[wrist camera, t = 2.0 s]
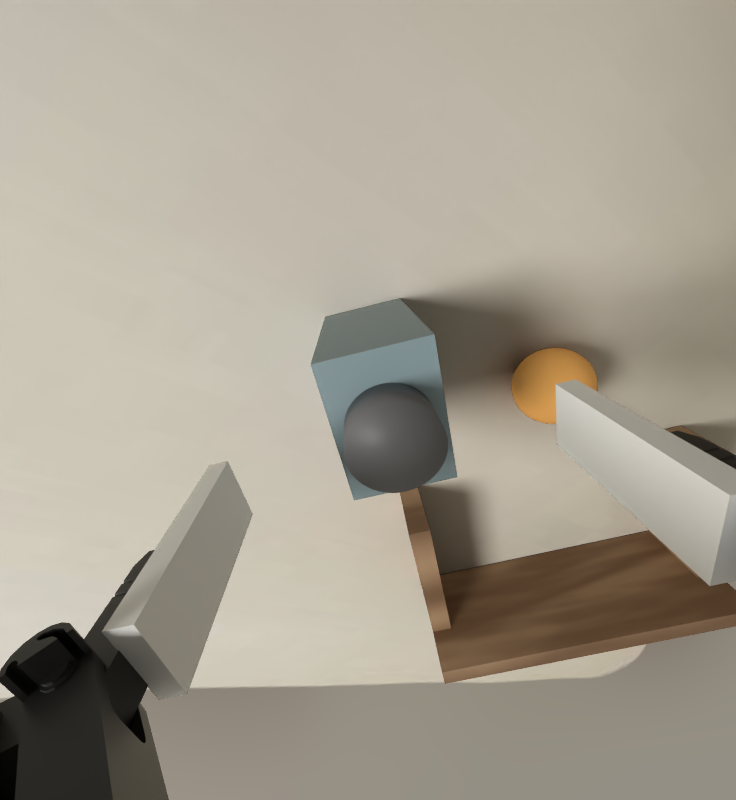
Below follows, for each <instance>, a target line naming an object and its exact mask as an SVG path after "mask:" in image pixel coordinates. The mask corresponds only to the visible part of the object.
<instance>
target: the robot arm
mask: <svg viewBox="0 0 736 800" xmlns="http://www.w3.org/2000/svg"><path fill="white" fill-rule="evenodd" d="M556 428H557V445H558V446H559V447H560V448H561V449H562V450H563V451H564V452H565V453H566V454H567V455H568V456H570V457H571V458H572V459H573V460H574V461H575V462H576V463H577V464H578V465H579V466H580V467H581V468H583V469H584V470H585V471H586V472H587V473H588V474H589V475H590V476H591V477H592V478H593V479H594V480H596V481H597V482H598V483H599V484H600V485H601V486H602V487H603V488H604V489H605V490H606V491H607V492H609V493H610V494H611V495H612V496H613V497H614V498H615V499H616V500H617V501H618V502H619V503H620V504H621V505H623V506H624V507H625V508H626V509H627V510H628V511H629V512H630V513H631V514H632V515H633V516H634V517H636V518H637V519H638V520H639V521H640V522H641V523H642V524H643V525H644V526H645V527H646V528H647V529H649V530H650V531H651V532H652V533H653V534H654V535H655V536H656V537H657V538H658V539H659V540H660V541H661V542H663V543H664V544H665V545H666V546H667V547H668V548H669V549H670V550H671V551H672V552H673V553H674V554H676V555H677V556H678V557H679V558H680V559H681V560H682V561H683V562H684V563H685V564H686V565H687V566H689V567H690V568H691V569H692V570H693V571H694V572H695V573H696V574H697V575H698V576H699V577H700V578H702V579H703V580H704V581H705V582H706V583H707V584H708V585H709V586H713V585H718V584H723V583H728V582H733V581H736V457H735V455H733V454H732V453H730V452H728V451H726V450H724V449H722V450H721V449H720V447H718V446H716V445H714V444H713V443H711V442H709V441H707V440H705V439H703V438H701V437H698V436H695V435H691V434H688V433H685V432H681V431H673V432H668V431H667V430H665V429H663V428H661V427H659V426H658V425H656V424H654V423H652V422H651V421H649V420H647V419H645V418H643V417H642V416H640V415H638V414H636V413H634V412H633V411H631V410H629V409H627V408H626V407H624V406H622V405H620V404H618V403H617V402H615V401H613V400H611V399H610V398H608V397H606V396H604V395H602V394H601V393H599V392H597V391H595V390H594V389H592V388H590V387H588V386H586V385H585V384H583V383H581V382H579V381H577V380H576V379H575V380H571V381H566V382H562V383H558V384H556ZM251 517H252V512H251V510H250V507H249V505H248V503H247V501H246V499H245V497H244V495H243V493H242V490H241V488H240V486H239V484H238V482H237V480H236V478H235V476H234V474H233V471H232V469H231V467H230V465H229V463H228V461H227V462H223V463H218V464H214V465H210V466H209V467H208V469H207V470H206V472H205V473H204V475H203V476H202V478H201V479H200V481H199V482H198V484H197V486H196V487H195V489H194V490H193V492H192V493H191V495H190V496H189V498H188V499H187V501H186V502H185V504H184V506H183V507H182V509H181V510H180V512H179V513H178V515H177V516H176V518H175V519H174V521H173V523H172V524H171V526H170V527H169V529H168V530H167V532H166V533H165V535H164V536H163V538H162V539H161V541H160V543H159V544H158V546H157V547H156V549H155V550H152V551H149V552H148V553H147V554H146V555H145V556H144V557H143V558H142V559H141V560H140V561H139V562H138V563H137V564H136V565H135V566H134V567H133V568H132V570H131V571H130V573H129V574H128V576H127V577H126V579H125V580H124V584H121V586H120V587H119V589H118V590H117V592H116V593H115V597H113V598H112V599H111V601H110V602H109V604H108V605H107V606H106V608H105V609H104V611H103V612H102V614H101V615H100V617H99V618H98V620H97V621H96V623H95V624H94V626H93V627H92V628H91V630H90V631H89V633H88V634H87V636H86V637H85V639H83V638H82V637H81V636H80V634H79V633H78V632H77V631H76V630H75V629H74V628H73V626H72V625H71V624H70V623H59V624H55V625H52V626H50V627H48V628H46V629H44V630H43V631H41V632H39V633H37V634H36V635H34V636H33V637H32V638H30V639H29V640H28V641H26V642H25V643H24V644H23V645H22V646H21V647H20V648H19V649H18V650H17V651H15V652H14V653H13V654H12V655H11V656H10V658H9V659H8V660H7V662H6V663H5V664H4V666H3V667H2V668H1V671H0V683H1V684H2V685H4V686H5V687H6V688H7V689H8V690H9V691H10V692H11V693H13V694H14V695H15V696H14V697H12V698H10V699H8V700H6V701H4V702H2V703H0V800H169V799H168V795H167V792H166V788H165V783H164V779H163V776H162V772H161V768H160V764H159V760H158V756H157V752H156V748H155V744H154V741H153V737H152V733H151V729H150V725H149V721H148V717H147V713H146V711H145V709H144V708H143V706H142V705H141V704H140V702H141V700H142V698H143V695H144V693H145V691H146V689H147V687H148V688H149V689H150V690H151V691H152V692H153V694H155V696H156V697H157V698H158V700H160V699H165V698H170V697H175V696H180V695H185V694H187V693H188V690H189V687H190V685H191V682H192V679H193V676H194V674H195V671H196V668H197V665H198V663H199V660H200V657H201V654H202V652H203V649H204V646H205V643H206V641H207V638H208V635H209V632H210V630H211V627H212V624H213V622H214V619H215V616H216V613H217V611H218V608H219V605H220V602H221V600H222V597H223V594H224V591H225V589H226V586H227V583H228V580H229V578H230V575H231V572H232V569H233V567H234V564H235V561H236V558H237V556H238V553H239V550H240V547H241V545H242V542H243V539H244V536H245V534H246V531H247V528H248V525H249V523H250V520H251Z"/></svg>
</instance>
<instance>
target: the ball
mask: <svg viewBox="0 0 736 800" xmlns="http://www.w3.org/2000/svg"><path fill="white" fill-rule="evenodd" d="M575 379H576V380H577V381H579V382H581V383H583V384H585V385H586V386H588V387H590V388H592V389H594V390H595V391H597V389H598V381H597V376H596V373H595V371H594V369H593V367H592V366H591V364H590V363H589V362H588V361H587V360H586V359H585V358H584V357H583V356H581V355H579V354H578V353H576V352H574V351H571V350H568V349H563V348H548V349H543V350H540V351H537V352H535V353H533V354H531V355H529V356H528V357H527V358H525V359H524V360H523V361H522V362H521V363H520V364H519V366H518V367H517V369H516V371H515V373H514V375H513V379H512V395H513V398H514V400H515V402H516V404H517V406H518V407H519V409H520V410H521V411H522V412H523V413H524V414H526V415H527V416H528V417H530V418H532V419H534V420H536V421H539V422H542V423H547V424H556V384H558V383H562V382H566V381H571V380H575Z"/></svg>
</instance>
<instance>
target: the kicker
mask: <svg viewBox="0 0 736 800" xmlns="http://www.w3.org/2000/svg"><path fill="white" fill-rule="evenodd" d="M311 367H312V370H313V373H314V376H315V379H316V383H317V386H318V389H319V392H320V395H321V398H322V401H323V404H324V408H325V411H326V414H327V417H328V420H329V423H330V426H331V429H332V433H333V436H334V439H335V442H336V445H337V448H338V451H339V454H340V458H341V461H342V464H343V467H344V470H345V473H346V476H347V479H348V483H349V486H350V489H351V492H352V495H353V498H354V500H358V499H362V498H367V497H371V496H376V495H380V494H385V493H399V492H405V491H409V490H412V489H415V488H417V487H420V486H421V485H425V484H429V483H433V482H438V481H442V480H447V479H451V478H456V477H457V472H456V466H455V460H454V453H453V447H452V441H451V434H450V428H449V422H448V416H447V409H446V403H445V397H444V390H443V384H442V378H441V371H440V365H439V359H438V352H437V346H436V340H435V334H434V333H433V332H432V331H431V330H430V329H429V328H428V327H427V326H426V325H425V324H424V323H423V322H422V321H421V320H420V319H419V318H418V317H417V316H416V315H415V314H414V313H413V312H412V311H411V309H410V308H409V307H408V306H407V305H406V304H405V303H404V302H403V301H402V300H401V299H400V298H399V299H395V300H391V301H387V302H383V303H379V304H375V305H371V306H367V307H363V308H359V309H355V310H351V311H347V312H343V313H339V314H335V315H331V316H327V317H325V320H324V323H323V326H322V329H321V333H320V336H319V339H318V342H317V346H316V349H315V352H314V355H313V359H312V362H311Z"/></svg>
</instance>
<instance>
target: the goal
mask: <svg viewBox="0 0 736 800" xmlns="http://www.w3.org/2000/svg"><path fill="white" fill-rule="evenodd" d="M665 430H667V431H668V432H673V431H681V432H685V433H688V434H691V435H695V436H698V437H701V436H699V435H697V434H695V433H693V432H692V431H690V430H688V429H686V428H684V427H682V426H677V427H673V428H668V429H665ZM701 438H703V437H701ZM703 439H704V438H703ZM705 440H706V439H705ZM707 441H708V440H707ZM709 442H710V441H709ZM711 443H712V442H711ZM713 444H714V443H713ZM714 445H716V444H714ZM716 446H717V445H716ZM718 447H719V446H718ZM720 449H721V450H722V449H723V448H721V447H720ZM724 450H725V449H724ZM726 451H727V450H726ZM733 455H734V454H733ZM735 457H736V455H735ZM400 495H401V500H402V504H403V509H404V514H405V518H406V523H407V528H408V533H409V537H410V541H411V545H412V549H413V553H414V557H415V561H416V565H417V569H418V573H419V577H420V581H421V585H422V589H423V593H424V597H425V601H426V605H427V609H428V613H429V617H430V621H431V625H432V629H433V633H434V638H435V642H436V647H437V651H438V656H439V660H440V665H441V669H442V673H443V677H444V681H445V684H446V683H451V682H456V681H461V680H466V679H471V678H476V677H482V676H487V675H492V674H497V673H502V672H507V671H512V670H517V669H522V668H527V667H532V666H537V665H542V664H547V663H552V662H557V661H562V660H567V659H572V658H578V657H583V656H588V655H593V654H598V653H603V652H608V651H613V650H618V649H623V648H628V647H633V646H638V645H643V644H648V643H653V642H658V641H663V640H668V639H673V638H678V637H684V636H689V635H694V634H699V633H704V632H708V631H714V630H719V629H724V628H728V627H734V626H736V590H734V588H732V587H731V586H730V585H729V584H728V583H723V584H718V585H713V586H709V585H708V584H707V583H706V582H705V581H704V580H703V579H702V578H700V577H699V576H698V575H697V574H696V573H695V572H694V571H693V570H692V569H691V568H690V567H689V566H687V565H686V564H685V563H684V562H683V561H682V560H681V559H680V558H679V557H678V556H677V555H676V554H674V553H673V552H672V551H671V550H670V549H669V548H668V547H667V546H666V545H665V544H664V543H663V542H661V541H660V540H659V539H658V538H657V537H656V536H655V535H654V534H653V533H652V532H651V531H650V530H649V531H645V532H640V533H636V534H631V535H626V536H621V537H617V538H612V539H607V540H603V541H598V542H593V543H589V544H584V545H579V546H574V547H570V548H565V549H560V550H556V551H551V552H546V553H541V554H537V555H532V556H527V557H523V558H518V559H513V560H509V561H504V562H499V563H494V564H490V565H485V566H480V567H476V568H471V569H466V570H461V571H457V572H452V573H447V574H443V575H440V574H439V569H438V565H437V560H436V555H435V551H434V546H433V542H432V537H431V532H430V528H429V525H428V521H427V518H426V514H425V511H424V508H423V504H422V501H421V497H420V494H419V490H418V487H417V488H415V489H412V490H409V491H405V492H400Z"/></svg>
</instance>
